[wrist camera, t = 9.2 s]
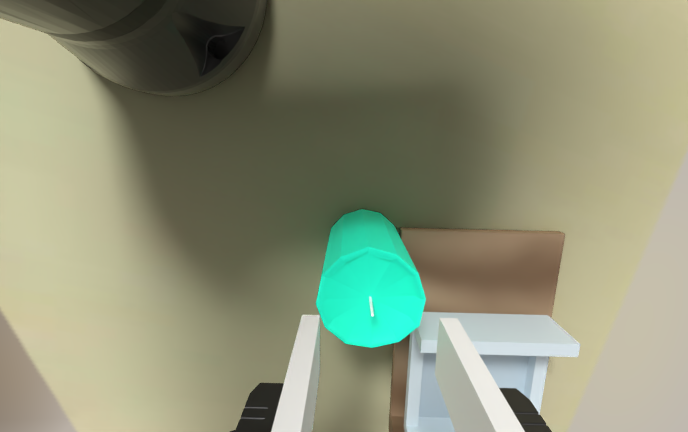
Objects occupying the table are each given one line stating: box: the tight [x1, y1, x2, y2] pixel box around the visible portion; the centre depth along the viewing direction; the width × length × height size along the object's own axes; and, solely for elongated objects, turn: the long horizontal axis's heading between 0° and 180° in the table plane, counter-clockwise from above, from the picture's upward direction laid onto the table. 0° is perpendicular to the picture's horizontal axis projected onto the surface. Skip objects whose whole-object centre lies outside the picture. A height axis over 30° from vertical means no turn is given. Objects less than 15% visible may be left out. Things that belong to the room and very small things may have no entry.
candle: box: [316, 209, 426, 348], centre depth 24 cm, size 6×6×12 cm
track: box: [389, 228, 565, 432], centre depth 28 cm, size 20×13×7 cm, turn 179°
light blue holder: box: [404, 312, 580, 432], centre depth 28 cm, size 11×11×5 cm
